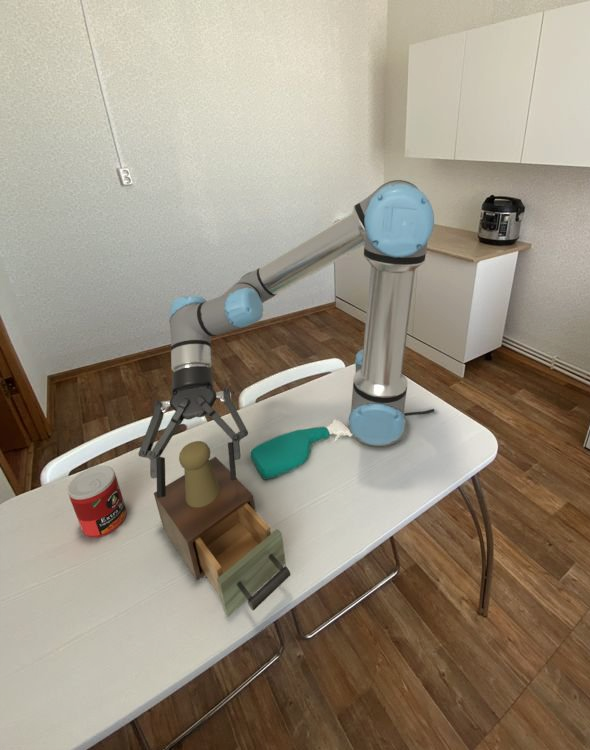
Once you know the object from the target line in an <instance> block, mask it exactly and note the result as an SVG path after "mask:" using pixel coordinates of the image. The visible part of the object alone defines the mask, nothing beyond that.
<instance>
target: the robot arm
mask: <svg viewBox="0 0 590 750" xmlns="http://www.w3.org/2000/svg"><path fill="white" fill-rule="evenodd" d="M434 227H435V213H434V209H433V206H432V204H431V201H430V199H428V197H427V195H426V194H425V193H424V192H423V191H422V190H420V189H419V188H418V187H417V186H416V185H415V184H414V183H412V182H409V181H407V180H404V179H395V180H394V179H393V180H389V181H387V182H384V183H383V184H381V185H380V186H379V187H378V188H376V189H375V190H374V191H373V192H371V194H369V195H368V196H367V197H365V198H364V199H363V200H361V201H359V202H358V203H356V204H355V205H353V206H352V211H351V213H349V214H347V215H346V216H343V217H342V218H340V219H339V220H337V221H335V222H334V223H332V224H330V225H328V226H327V227H325V228H323V229H321V230H320V231H319V232H317V233H314V235H312V236H310V237H309V238H307V239H305V240H303V241H301V242H300V243H298V244H297V245H295V246H293V247H291V248H290V249H288V250H287V251H285V252H283V253H281V254H280V255H278V256H277V257H275V258H273V259H271V260H270V261H267V262H266V263H265V264H263V265H261V266H260V267H258V268H256V269H254V270H251V271H248V272H247V273H245V274H244V275H242V276H241V277H240V279H239V280H238V281H237V282H236V283H235V284H233V285H232V286H231V287H230V288H228V290H226V291H225V292H224V293H223V294H222V295H220V296H217V297H215V298H212V299H209V300H206V298H204V297H202V296H199V295H188V296H181V297H177V298H175V299H174V300H173V301H172V302H171V304H170V308H169V310H170V311H169V320H168V322H169V330H170V343H171V344H170V346H171V347H170V357H171V358H170V361H171V362H170V364H171V365H170V366H171V367H170V368H171V369H170V370H171V371H172V372H173V373H171V397H170V399H169V400H163V401H161V400H156V401H154V402H153V413H152V416H151V419H150V422H149V424H148V428H147V430H146V432H145V435H144V437H143V440H142V443H141V445H140V447H139V451H138V457H140V458H146V459H149V465H150V468H149V469H150V478H151V479H156V491H157V498H161V497H165V496H166V457H162V455H163V453H164V451H165V450H166V448H167V446H168V444H169V443H170V441H171V439H172V438H173V436H174V435H175V433H176V431H177V429H178V428H179V426H180V425H181V424H182V423H183V421H184V420H192V419H194V418H203V417H205V416H207V415H208V416H209V417H210V418H211V419H212V420H213V421H214V422H215V423H216V425H218V426H219V427H220V429H221V430H222V431H223V432H224V433H225V434H226V436H228V437H229V439H231V442H227V452H228V463H229V471H230V476H231V480H236V478H237V470H236V469H237V468H236V460H240V459H241V445H240V443H241V440H242V439H244V438H246V437H247V436H249V430H248V429H247V427H246V425H245V422H243V419H242V418H241V416H240V414H239V412H238V410H237V408H236V406H235V405H234V403H233V400H232V393H231V390H230V389H229V388H224V389H223V390H220V391H216V390H215V387H214V373H213V369H212V368H211V367H212V366H213V360H212V347H211V345H212V343H211V338H213V337H217V336H220V335H223V334H226V333H229V332H232V331H235V330H238V329H239V330H240V329H241V328H246V327H247V328H248V327H249V326H251V325H253V324H255V323H258V322H259V321H260V320H262V317H263V314H264V313H263V312H264V305H263V303H265V302H267V301H269V300H270V299H272V298H274V297H275V296H277V295H279V294H280V293H282V292H284V291H286V290H287V289H289V288H291V287H293V286H294V285H296V284H298V283H300V282H302V281H304V280H305V279H307V278H309V277H310V276H312V275H314V274H316V273H318V272H320V271H321V270H323V269H326V268H327V267H329V266H330V265H332V264H334V263H336V262H337V261H340V260H341V259H343V258H344V257H346V256H348V255H351V254H352V253H354V252H355V251H357V250H359V249H361V248H363V257H364V258H365V260H366V261H367V262H368V263H369V265H370V270H369V281H368V291H367V300H366V315H365V323H364V324H365V325H364V337H363V347H362V349H361V350H359V351H358V352H357V353H356V354H355V361H354V365H355V373H354V375H353V382H352V383H353V384H352V393H351V404H350V405H351V406H350V413H349V415H348V421H349V428H350V429H349V430H350V432H351V433H352V437H353V438H354V439H355V440H356V441H357V442H359V443H360V444H363V445H365V446H367V447H372V448H387V447H391V446H394V445H396V444H398V443H399V442H401V441H402V440H403V439H404V438H405V436H406V434H407V432H408V421H407V418H406V417H409V416H420V415H427V414H431V413H435V409H434V408H432V409H428V410H423V411H411V412H405V407H406V398H407V391H408V380H407V377H406V376H405V375H404V374H403V368H404V358H405V351H406V343H407V337H408V329H409V322H410V313H411V307H412V306H411V305H412V298H413V292H414V291H413V290H414V283H415V275H416V270H417V268H419V267H420V266H422V265H423V264H424V263H425V261H426V255H427V249H428V243H429V240H430V238H431V236H432V234H433V231H434ZM217 399H219V400H220V402H222V403H224V404H225V406H226V408H227V410H228V412H229V413H230V415H231V417H232V419H233V421H234V423H235V425H236V427H237V429H238V430H239V431H238V432H236V431H234V430H233V429H232V427H230V425H229V424H228V423H227V422H226V421H225V420H224V419H223V418H222V417H221V416H220V415H219V414H218V413H217V411H215V410H214V409H213V405H214V404H215V402H216V400H217ZM170 407H171V408H172V409H173V410H174V413H173V415H172V416H171V418H170V421H169V423H168V424H167V425H166V427H165V429H164V431H163V432H162V433H161V435H160V436H159V439H158V440H157V442H156V443H155V441H156V438H157V435H158V432H159V431H160V427H161V424H162V422H163V419H164V415H165V413H167V412H168V409H169V408H170ZM154 443H155V445H154Z"/></svg>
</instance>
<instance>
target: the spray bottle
mask: <svg viewBox="0 0 590 750" xmlns="http://www.w3.org/2000/svg"><path fill="white" fill-rule="evenodd" d="M331 435H335V438H334V440H333V441H334V442H337V441H338V439H339V438H340V437H342V436H348V437H349V438H352V437H353V435H352V433H351V430H350V429H349V428H348V427H347V426H346V425H345V424H344V423H343V422H342V421H341V420H338V419H335V418H333V420H332V423H330V424H329V425H328V426H318V427H310V428H305V429H297V430H292V431H289V432H286V433H284V434H280V435H278V436H275V437H273V438H271V439H268V440H267V441H264V442H262V443H260V444H258V445H256V446H255V447H253V448H252V449H251V450H250V459H251V461H252V463H253V464H254V466H255V469H256V470H257V472H258V474H259V475H260V476H261V478H263V479H264V480H267V479H272V478H275V477H277V476H280V475H282V474H285V473H288V472H290V471H292V470H294V469H297V468H298V467H300V466H301V465H303V464H305V463H306V461H308V459H309V457H310V455H311V447H312V444H315V443H316V442H320V441H322V440H323V439H328V438H330V436H331Z"/></svg>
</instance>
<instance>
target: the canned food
mask: <svg viewBox="0 0 590 750" xmlns="http://www.w3.org/2000/svg"><path fill="white" fill-rule="evenodd" d="M67 494H68V497H69V500H70V503H71V505H72V509H73V510H74V512H75V516H76V519H77V522H78V523H79V526H80V529H81V531H82V533H83V534H84V535H85V536H86V537H88V538H92V539H93V538H94V539H95V538H101V537H105V536H107V535H109V534H111V533H112V532H114V531H115V530H117V529H118V528H119V527H120V526H121V524H122V523H123V522H124V521H125V518H126V512H127V507H126V504H125V501H124V498H123V495H122V491H121V488H120V483H119V481H118V478H117V475H116V472H115V470H114V469H113V467H111V466H109V465H96V466H92V467H90V468H87V469H85V470H83V471H81V472H80V473H78V474H77V475H76V476H75V477H73V478H72V479H71V481H70V482H69V484H68V486H67Z"/></svg>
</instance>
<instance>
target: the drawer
mask: <svg viewBox="0 0 590 750" xmlns="http://www.w3.org/2000/svg"><path fill="white" fill-rule="evenodd" d="M193 546H194V550H195V554H196V558H197V562H198V564H199V566H200V567H201V569H202V570H203V572H204V573H205V576H206V577H207V580H209V582H210V583H211V585H212V586H213V588H214V589H215V591H216V592H217V593H218V596H219V597H220V600H221V606H222V611H223V613H224V614H225V616H226V617H229V616H230V615H232V614H233V612H235V611H236V610H237V609H238V608H239V607H240V606H241V605H243V603H244V602H246V601H247V604H248V607H249V609H250V610H251V611H253V612H254V611H255V610H256V609H258V607H259V606H260V605H261V604H263V603H264V601H266V599H268V597H270V596H271V595H272V594H273V593H274V592H275V591H276V590H277V589H278V588H279V587H280V586H281V585H282V584H283V583H284V582H285V581H286V580H287V579H289V578H290V577H291V575H292V574H291V571H290V570H289V569H290V568H288V567H287V566H286V559H285V557H286V556H285V549H284V542H283V533H282V531H281V530H280V529H279V528H276V529H275V530H274V531H272V533H271V527H270V525H269V524H267V522H266V521H265V520H264V519H263V518H262V517H261V516H260V515H259V514H258V513H257V511H256V512H255V511H254V510H253V509H252V508H251V507H250V506H249V504H248V503H246V504H245V505H243V506H242V507H240V508H239V509H238V510H236V511H235V512H234V513H232V514H231V515H229V516H228V517H227V518H225V519H224V520H222V521H221V522H220V523H218V524H217V525H216V526H214V527H213V528H211V529H210V530H209V531H207V532H206V533H205V534H203V535H202V536H200V537H199V538H198V539H196V540H195V541H193ZM284 565H285V566H284Z"/></svg>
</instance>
